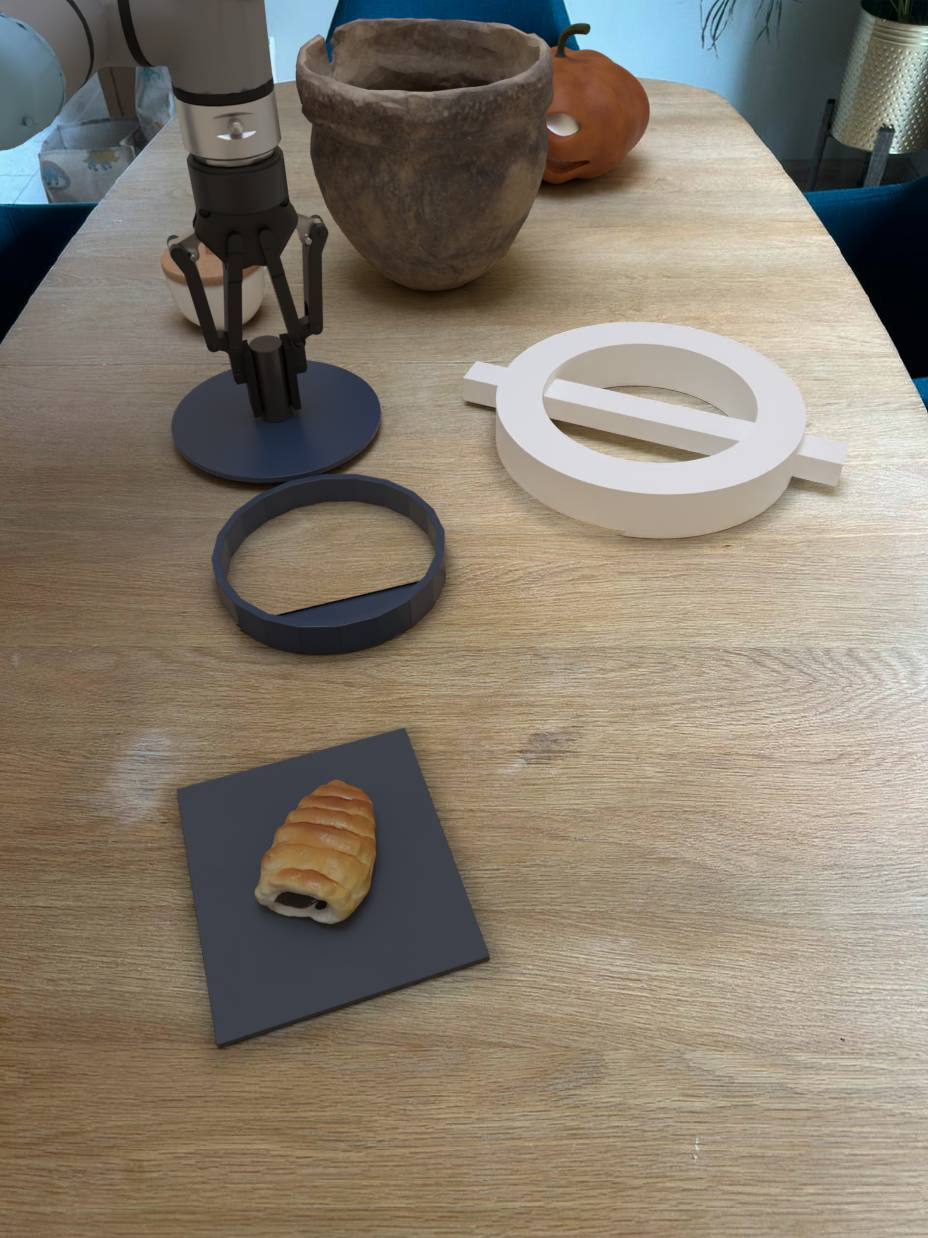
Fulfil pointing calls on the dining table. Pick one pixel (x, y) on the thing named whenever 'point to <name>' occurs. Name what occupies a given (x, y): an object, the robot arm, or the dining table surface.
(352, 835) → the pastry
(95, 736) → the dining table surface
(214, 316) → the trinket box
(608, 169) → the pumpkin
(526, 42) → the clay pot
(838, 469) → the white circle with bar
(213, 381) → the lid
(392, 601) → the dark blue ring
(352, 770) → the mat
